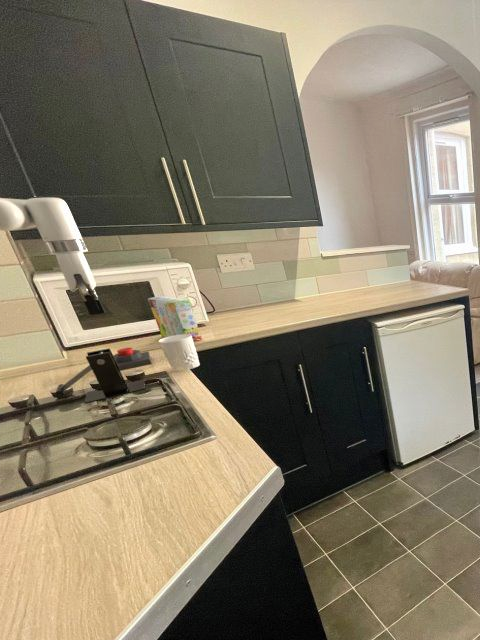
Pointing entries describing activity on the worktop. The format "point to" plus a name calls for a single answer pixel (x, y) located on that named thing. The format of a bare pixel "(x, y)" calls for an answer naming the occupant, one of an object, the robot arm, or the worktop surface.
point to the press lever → (72, 381)
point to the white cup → (180, 352)
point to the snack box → (174, 316)
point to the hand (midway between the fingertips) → (97, 313)
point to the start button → (125, 351)
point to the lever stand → (109, 377)
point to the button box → (133, 360)
